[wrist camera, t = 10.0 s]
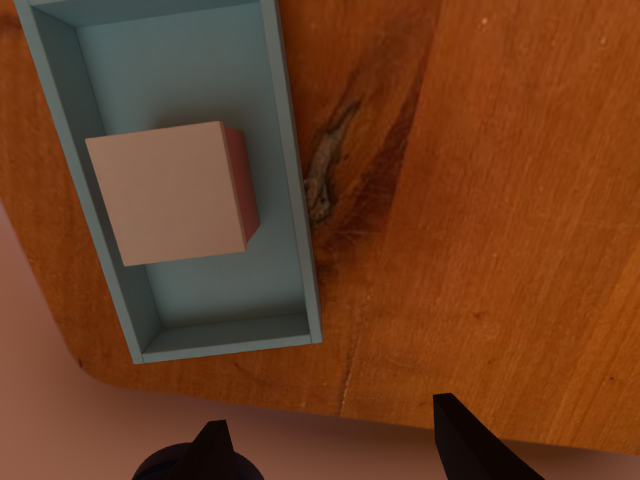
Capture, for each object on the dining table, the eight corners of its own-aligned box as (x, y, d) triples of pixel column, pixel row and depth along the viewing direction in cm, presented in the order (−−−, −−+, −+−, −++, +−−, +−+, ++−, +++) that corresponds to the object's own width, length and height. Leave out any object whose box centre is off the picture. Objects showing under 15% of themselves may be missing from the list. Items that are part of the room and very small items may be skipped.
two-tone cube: (170, 238, 18) (123, 267, 13) (145, 141, 16) (83, 138, 12) (262, 227, 18) (245, 251, 13) (245, 128, 16) (219, 120, 12)
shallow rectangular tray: (160, 333, 20) (133, 365, 17) (68, 21, 15) (8, -10, 12) (321, 314, 20) (322, 342, 17) (277, -9, 15) (267, -48, 12)
